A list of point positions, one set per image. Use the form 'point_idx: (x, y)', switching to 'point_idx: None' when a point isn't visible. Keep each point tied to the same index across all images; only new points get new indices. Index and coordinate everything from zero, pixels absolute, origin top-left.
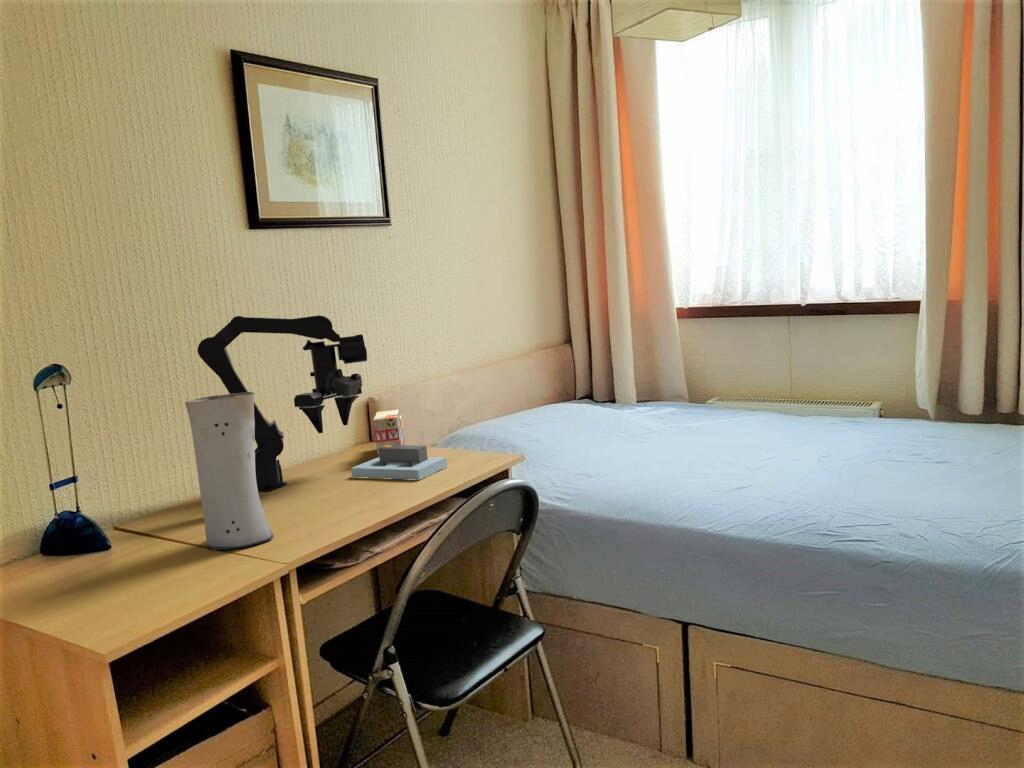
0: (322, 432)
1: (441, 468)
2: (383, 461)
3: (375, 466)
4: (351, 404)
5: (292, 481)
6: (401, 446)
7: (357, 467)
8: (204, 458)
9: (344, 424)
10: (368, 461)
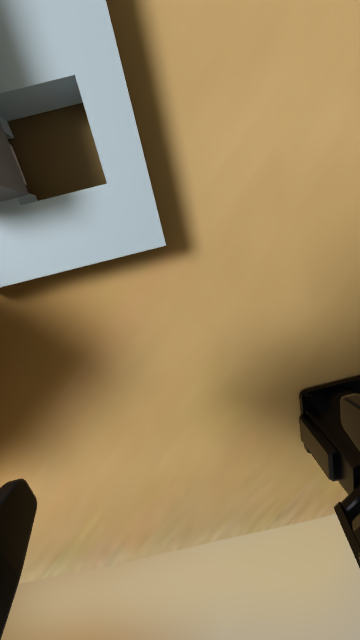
0: (345, 396)
1: None
2: (18, 169)
3: (95, 134)
4: None
5: (266, 409)
6: None
7: (148, 221)
8: None
9: (30, 498)
10: (53, 268)
